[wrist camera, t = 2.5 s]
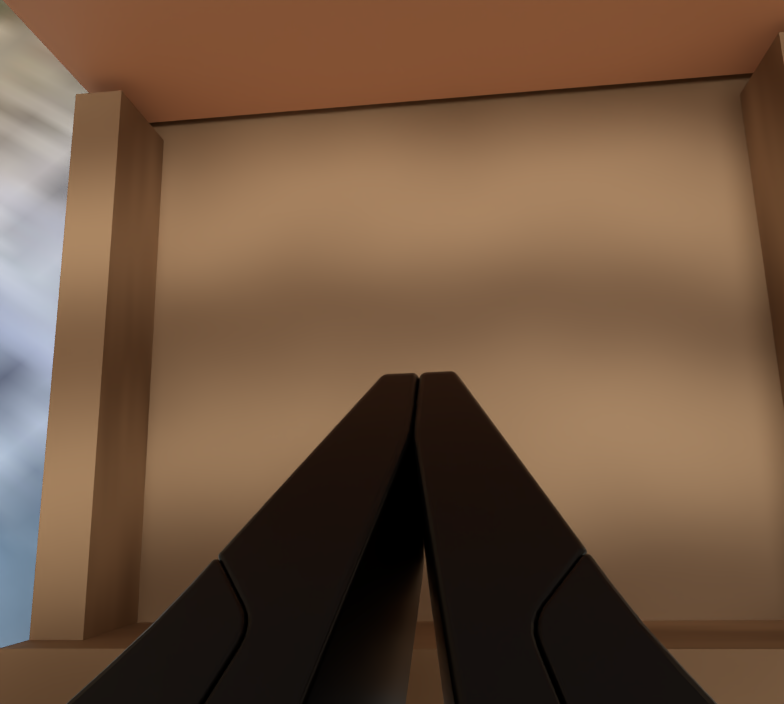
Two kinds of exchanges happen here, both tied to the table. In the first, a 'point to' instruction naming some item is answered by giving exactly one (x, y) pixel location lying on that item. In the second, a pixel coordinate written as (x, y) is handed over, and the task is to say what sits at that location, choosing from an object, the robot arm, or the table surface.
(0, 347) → the table surface
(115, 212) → the brown shallow open box
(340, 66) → the tailgate
